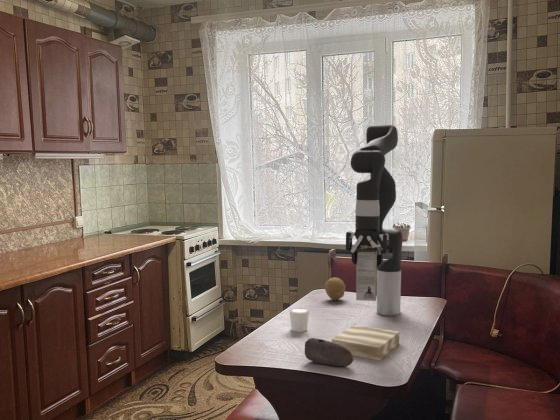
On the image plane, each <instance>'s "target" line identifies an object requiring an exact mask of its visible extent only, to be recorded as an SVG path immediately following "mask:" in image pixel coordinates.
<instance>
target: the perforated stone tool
mask: <svg viewBox="0 0 560 420" xmlns="http://www.w3.org/2000/svg"><path fill="white" fill-rule="evenodd" d="M304 356H305V358H306V359H307V360H308V361H312V362H314V363H317V364H321V365H327V366H334V367H342V368H343V367H348V366H350V365H352V364H353V362H354V357H353V355H352V354H351V352H350V351H349V350H348V349H346V348H345V347H343V346H341V345H339V344H336V343H333V342H332V341H330V340H325V339H321V338H317V337H316V338H315V337H310V338H308V339H307V340H306V341H305V342H304Z"/></svg>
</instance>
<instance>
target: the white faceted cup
mask: <svg viewBox="0 0 560 420" xmlns="http://www.w3.org/2000/svg"><path fill="white" fill-rule="evenodd" d="M309 311H310V310H309V309H307V308H302V307H301V308H300V307H297V308H296V307H295V308H291V309H290V310H289V315H290V316H289V319H290V329H291V331H293V332H296V333H302V332H306V331H307V330H308V324H309V322H308V321H309V313H310V312H309Z"/></svg>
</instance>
